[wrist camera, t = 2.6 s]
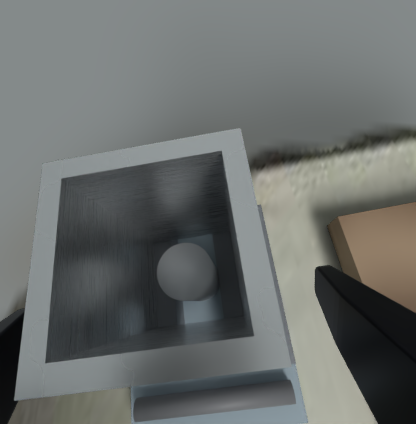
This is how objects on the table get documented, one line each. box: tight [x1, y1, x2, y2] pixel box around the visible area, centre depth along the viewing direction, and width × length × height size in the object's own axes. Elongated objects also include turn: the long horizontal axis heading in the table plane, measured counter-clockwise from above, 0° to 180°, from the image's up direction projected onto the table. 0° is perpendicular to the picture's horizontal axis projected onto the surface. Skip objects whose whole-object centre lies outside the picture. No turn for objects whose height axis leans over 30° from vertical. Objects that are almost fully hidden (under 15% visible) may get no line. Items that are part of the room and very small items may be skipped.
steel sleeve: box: [14, 128, 292, 401], centre depth 10 cm, size 6×6×8 cm
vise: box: [131, 205, 308, 424], centre depth 13 cm, size 11×9×7 cm
